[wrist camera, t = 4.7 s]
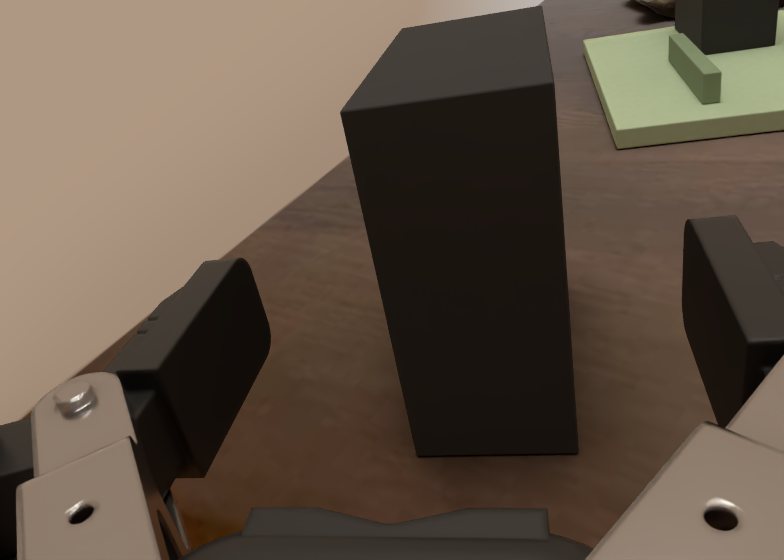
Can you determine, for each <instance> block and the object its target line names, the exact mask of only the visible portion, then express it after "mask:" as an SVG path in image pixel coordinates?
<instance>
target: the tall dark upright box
mask: <svg viewBox="0 0 784 560" xmlns="http://www.w3.org/2000/svg"><path fill="white" fill-rule="evenodd" d="M340 114H341V118H342V123H343V127H344V132H345V136H346V141H347V145H348V150H349V154H350V159H351V163H352V168H353V172H354V177H355V181H356V186H357V190H358V195H359V199H360V204H361V208H362V213H363V217H364V222H365V226H366V231H367V235H368V240H369V244H370V248H371V253H372V257H373V262H374V266H375V271H376V275H377V280H378V284H379V289H380V293H381V298H382V302H383V307H384V311H385V316H386V320H387V325H388V329H389V334H390V338H391V343H392V347H393V352H394V356H395V361H396V365H397V370H398V374H399V379H400V383H401V387H402V392H403V396H404V401H405V405H406V410H407V414H408V419H409V423H410V428H411V432H412V437H413V441H414V446H415V450H416V454H417V456H438V455H496V454H553V453H578V451H579V450H578V434H577V419H576V404H575V389H574V374H573V359H572V343H571V328H570V313H569V298H568V283H567V268H566V252H565V237H564V222H563V207H562V192H561V177H560V161H559V146H558V131H557V116H556V101H555V86H554V78H553V72H552V66H551V59H550V53H549V47H548V41H547V34H546V28H545V22H544V16H543V10H542V6H536V7H530V8H524V9H518V10H512V11H506V12H500V13H494V14H488V15H482V16H475V17H469V18H463V19H458V20H451V21H445V22H439V23H433V24H427V25H421V26H415V27H409V28H403V29H401V31H400V32H399V33H398V35H397V36H396V37H395V39H394V40H393V41H392V43H391V44H390V45H389V47H388V48H387V49H386V51H385V52H384V53H383V55H382V56H381V57H380V59H379V60H378V62H377V63H376V64H375V66H374V67H373V68H372V70H371V71H370V72H369V74H368V75H367V76H366V78H365V79H364V80H363V82H362V83H361V85H360V86H359V87H358V89H357V90H356V91H355V92H354V94H353V95H352V96H351V98H350V99H349V101H348V102H347V103H346V105H345V106H344V107H343V109H342V110H341V112H340Z"/></svg>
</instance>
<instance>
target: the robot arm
mask: <svg viewBox="0 0 784 560" xmlns="http://www.w3.org/2000/svg"><path fill="white" fill-rule="evenodd" d="M682 312H683V321H684V327H685V331H686V335H687V338H688V341H689V344H690V346H691V349H692V352H693V355H694V358H695V361H696V363H697V366H698V369H699V372H700V375H701V378H702V380H703V383H704V386H705V389H706V392H707V395H708V397H709V400H710V403H711V406H712V409H713V412H714V414H715V417H716V420H717V423H718V425H716V424H714V423H711V422H708V421H707V422H703V423H701V424H700V425H699V426H697V427H696V428H695V430H694V431H693V432H692V433H691V434H690V435H689V436H688V438H687V439H686V440H685V441H684V442H683V444H682V445H681V446H680V447H679V448H678V449H677V451H676V452H675V453H674V454H673V455H672V457H671V458H670V459H669V460H668V461H667V463H666V464H665V465H664V466H663V467H662V469H661V470H660V471H659V472H658V473H657V474H656V476H655V477H654V478H653V479H652V480H651V482H650V483H649V484H648V485H647V486H646V488H645V489H644V490H643V491H642V492H641V494H640V495H639V496H638V497H637V498H636V499H635V501H634V502H633V503H632V504H631V505H630V507H629V508H628V509H627V510H626V511H625V513H624V514H623V515H622V516H621V517H620V518H619V520H618V521H617V522H616V523H615V524H614V526H613V527H612V528H611V529H610V530H609V532H608V533H607V534H606V535H605V536H604V538H603V539H602V540H601V541H600V542H599V543H598V545H597V546H596V547H595V548H594V549H593V548H591V547H589V546H587V545H585V544H583V543H580V542H577V541H574V540H571V539H568V538H566V537H562V536H558V535H554V534H550V532H549V522H548V512H547V509H526V508H468V509H463V510H458V511H454V512H449V513H444V514H439V515H434V516H429V517H425V518H420V519H415V520H410V521H405V522H401V523H395V524H384V523H379V522H375V521H371V520H367V519H363V518H359V517H354V516H350V515H346V514H342V513H338V512H334V511H330V510H326V509H322V508H252V509H251V512H250V514H249V517H248V519H247V521H246V524H245V526H244V528H243V531H242V532H238V533H234V534H231V535H228V536H225V537H221V538H219V539H216V540H214V541H211V542H209V543H207V544H204V545H202V546H200V547H199V548H197V549H195V550H193V549H192V546H191V543H190V540H189V537H188V534H187V531H186V527H185V524H184V521H183V518H182V515H181V512H180V509H179V506H178V503H177V500H176V498H175V496H174V494H173V492H172V489H171V485H172V484H173V482H174V480H175V478H204V477H205V475H206V473H207V472H208V470H209V468H210V466H211V464H212V462H213V460H214V458H215V456H216V454H217V452H218V450H219V448H220V447H221V445H222V443H223V441H224V439H225V437H226V435H227V433H228V431H229V429H230V427H231V425H232V423H233V422H234V420H235V418H236V416H237V414H238V412H239V410H240V408H241V406H242V404H243V402H244V400H245V398H246V397H247V395H248V393H249V391H250V389H251V387H252V385H253V383H254V381H255V379H256V377H257V375H258V373H259V372H260V370H261V368H262V366H263V364H264V362H265V360H266V358H267V356H268V354H269V350H270V343H271V334H270V327H269V323H268V320H267V317H266V314H265V310H264V307H263V304H262V301H261V298H260V295H259V292H258V289H257V286H256V283H255V280H254V277H253V274H252V271H251V268H250V266H249V264H248V262H247V261H246V260H245V259H243V258H235V259H223V260H212V261H205V262H203V264H201V266H200V267H199V268H198V269H197V271H196V272H195V273H194V274H193V276H192V277H191V278H190V279H189V281H188V282H187V283H186V284H185V286H184V287H182V288H181V289H179V290H178V291H176V292H175V293H173V294H172V295H171V296H169V297H168V298H166V299H165V300H164V301H162V302H161V303H160V304H159V305H158V307H157V308H156V309H155V310H154V311H153V313H152V314H151V315H150V316H149V317H148V321H145V322H144V323H143V325H142V326H141V327H140V328H139V330H138V331H137V335H134V336H133V337H132V338H131V339H130V340H129V342H128V343H127V344H126V345H125V346H124V348H123V349H122V350H121V351H120V352H119V354H118V355H117V356H116V357H115V358H114V360H113V361H112V362H111V363H110V364H109V366H108V367H107V368H106V369H105V371H104V372H96V373H89V374H85V375H81V376H78V377H76V378H73V379H71V380H68V381H66V382H64V383H62V384H61V385H59V386H57V387H56V388H54V389H53V390H51V391H50V392H48V393H47V394H46V395H45V396H44V397H43V398H42V399H41V400H40V401H39V402H38V403H37V404H36V406H35V407H34V409H33V411H32V414H31V418H28V419H24V420H20V421H16V422H12V423H8V424H5V425H0V560H784V247H782V246H780V245H779V244H777V243H775V242H773V241H771V242H758V243H753V242H752V240H751V238H750V237H749V235H748V234H747V232H746V230H745V229H744V227H743V226H742V224H741V222H740V221H739V219H738V218H737V216H735V215H732V216H720V217H709V218H698V219H688V220H687V221H686V223H685V228H684V249H683V281H682Z"/></svg>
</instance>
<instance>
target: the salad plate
mask: <svg viewBox="0 0 784 560" xmlns="http://www.w3.org/2000/svg"><path fill="white" fill-rule="evenodd" d="M635 1H637V2H639V3H641V4H643V5H645V6H647V7H649V8H650V9H652V10H653V11H655V12H656V13H657V14H660V15H664V16H667V17H672V18H675V0H635ZM781 6H784V0H779V7H781Z"/></svg>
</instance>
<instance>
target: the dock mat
mask: <svg viewBox="0 0 784 560" xmlns="http://www.w3.org/2000/svg"><path fill="white" fill-rule="evenodd" d="M778 8H779V0H675V26H673V27H667V28H660V29H654V30H647V31H640V32H634V33H627V34H621V35H614V36H607V37H601V38H594V39H588V40H584V41H583V46H584V55H585V58H586V61H587V64H588V67H589V69H590V72H591V75H592V78H593V81H594V84H595V87H596V90H597V92H598V95H599V98H600V101H601V104H602V107H603V110H604V113H605V116H606V118H607V121H608V124H609V127H610V130H611V133H612V136H613V139H614V141H615V144H616V147H617V149H622V148H631V147H639V146H648V145H657V144H666V143H674V142H683V141H692V140H700V139H709V138H718V137H727V136H735V135H744V134H753V133H761V132H770V131H779V130H784V10H779V11H778Z"/></svg>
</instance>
